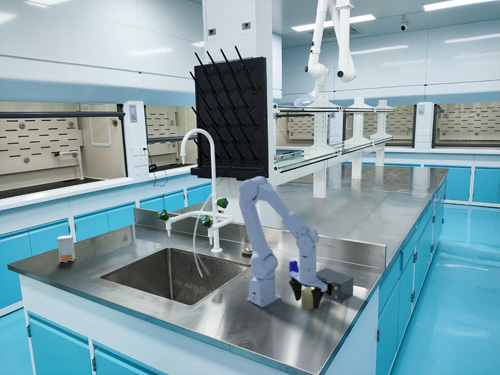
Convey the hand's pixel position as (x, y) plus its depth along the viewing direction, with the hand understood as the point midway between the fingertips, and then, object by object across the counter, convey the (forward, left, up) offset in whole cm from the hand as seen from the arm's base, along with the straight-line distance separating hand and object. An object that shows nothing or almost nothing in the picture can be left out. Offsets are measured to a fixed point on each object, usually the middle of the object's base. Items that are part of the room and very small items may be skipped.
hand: (307, 303), depth 117 cm
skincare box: (-46, +107, -2) cm, 116 cm away
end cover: (+4, 0, -1) cm, 5 cm away
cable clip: (+16, +15, -2) cm, 22 cm away
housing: (+15, 0, -2) cm, 15 cm away
